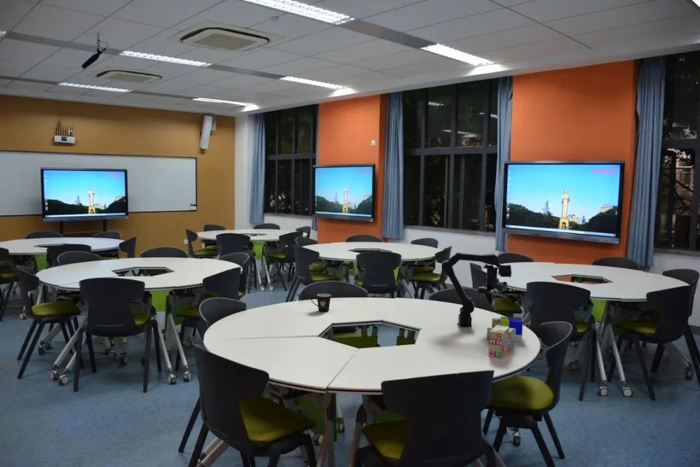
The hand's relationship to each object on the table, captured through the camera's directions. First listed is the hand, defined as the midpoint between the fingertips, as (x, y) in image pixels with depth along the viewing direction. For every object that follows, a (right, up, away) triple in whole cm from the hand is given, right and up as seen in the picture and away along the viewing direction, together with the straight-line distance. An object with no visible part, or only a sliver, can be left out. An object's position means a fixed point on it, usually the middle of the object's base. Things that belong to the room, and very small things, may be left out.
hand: (490, 304), depth 294 cm
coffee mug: (-96, -9, +34) cm, 103 cm away
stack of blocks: (-6, -17, -42) cm, 46 cm away
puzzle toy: (+5, -15, -20) cm, 25 cm away
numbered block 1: (+3, -14, -4) cm, 15 cm away
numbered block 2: (-5, -15, -25) cm, 30 cm away
